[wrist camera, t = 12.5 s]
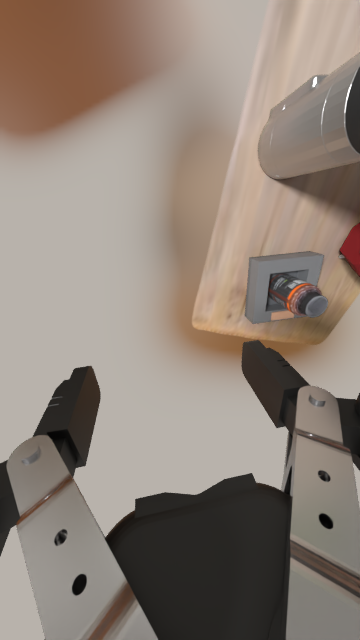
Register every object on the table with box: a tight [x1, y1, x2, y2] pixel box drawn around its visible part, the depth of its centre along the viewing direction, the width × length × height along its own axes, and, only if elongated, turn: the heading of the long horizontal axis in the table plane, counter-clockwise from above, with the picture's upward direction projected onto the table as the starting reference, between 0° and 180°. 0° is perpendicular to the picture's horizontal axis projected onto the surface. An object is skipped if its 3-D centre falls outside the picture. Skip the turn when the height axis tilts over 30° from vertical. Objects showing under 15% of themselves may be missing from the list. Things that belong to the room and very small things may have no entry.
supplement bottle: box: [268, 274, 328, 318], centre depth 41 cm, size 6×6×11 cm
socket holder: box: [245, 251, 324, 324], centre depth 45 cm, size 13×13×4 cm
